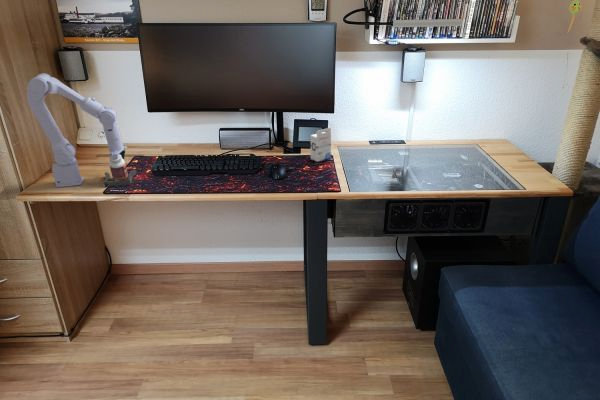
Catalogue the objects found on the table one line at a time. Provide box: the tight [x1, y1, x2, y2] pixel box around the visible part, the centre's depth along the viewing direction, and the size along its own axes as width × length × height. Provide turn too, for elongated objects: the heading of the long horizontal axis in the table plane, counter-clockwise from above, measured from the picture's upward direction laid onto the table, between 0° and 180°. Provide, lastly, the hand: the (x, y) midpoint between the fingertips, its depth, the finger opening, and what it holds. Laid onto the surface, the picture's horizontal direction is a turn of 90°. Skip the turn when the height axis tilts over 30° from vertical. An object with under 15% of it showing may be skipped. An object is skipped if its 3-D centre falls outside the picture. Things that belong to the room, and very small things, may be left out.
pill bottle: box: [108, 154, 129, 181], centre depth 182 cm, size 6×6×11 cm
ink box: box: [310, 127, 332, 163], centre depth 203 cm, size 8×5×15 cm, turn 126°
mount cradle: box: [103, 169, 138, 188], centre depth 185 cm, size 13×12×2 cm
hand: (122, 168), depth 187 cm, fingers closed, pressing on pill bottle
